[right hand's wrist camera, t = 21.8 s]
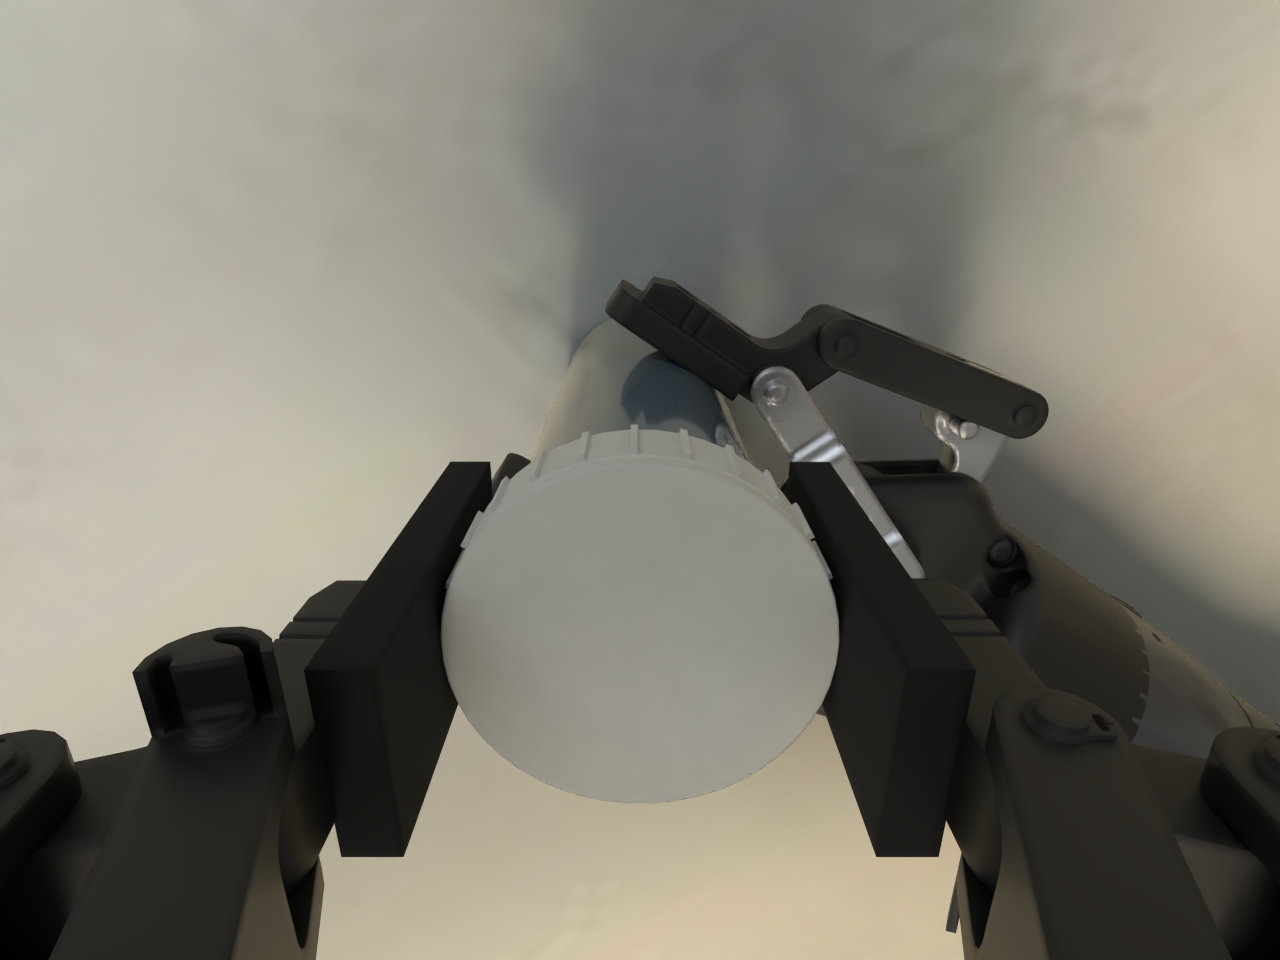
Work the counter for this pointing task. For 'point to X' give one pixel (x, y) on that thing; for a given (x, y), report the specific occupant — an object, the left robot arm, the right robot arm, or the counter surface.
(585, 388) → the jar
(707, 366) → the left robot arm
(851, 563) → the right robot arm
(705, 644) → the lid
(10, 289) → the counter surface
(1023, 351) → the counter surface
